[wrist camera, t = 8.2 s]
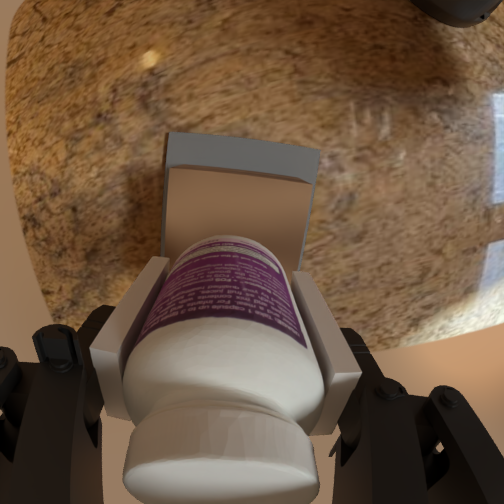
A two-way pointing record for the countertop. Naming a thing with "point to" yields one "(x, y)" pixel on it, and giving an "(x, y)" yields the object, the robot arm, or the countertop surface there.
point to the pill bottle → (223, 384)
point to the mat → (239, 161)
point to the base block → (236, 210)
